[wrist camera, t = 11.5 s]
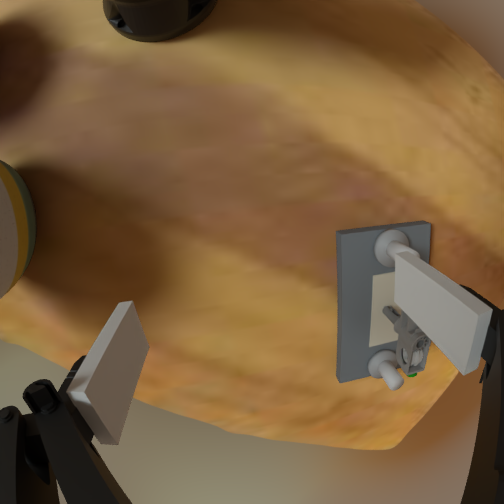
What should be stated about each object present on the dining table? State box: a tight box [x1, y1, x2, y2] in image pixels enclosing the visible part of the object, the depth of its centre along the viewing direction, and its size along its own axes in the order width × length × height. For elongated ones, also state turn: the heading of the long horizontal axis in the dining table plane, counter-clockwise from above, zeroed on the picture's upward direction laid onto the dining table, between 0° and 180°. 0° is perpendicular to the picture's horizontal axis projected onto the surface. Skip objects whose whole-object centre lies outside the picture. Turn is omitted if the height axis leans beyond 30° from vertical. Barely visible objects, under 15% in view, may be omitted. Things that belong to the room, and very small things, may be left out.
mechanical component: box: [382, 306, 431, 377], centre depth 37 cm, size 3×10×10 cm, turn 6°
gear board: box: [336, 221, 431, 390], centre depth 40 cm, size 24×14×8 cm, turn 6°
